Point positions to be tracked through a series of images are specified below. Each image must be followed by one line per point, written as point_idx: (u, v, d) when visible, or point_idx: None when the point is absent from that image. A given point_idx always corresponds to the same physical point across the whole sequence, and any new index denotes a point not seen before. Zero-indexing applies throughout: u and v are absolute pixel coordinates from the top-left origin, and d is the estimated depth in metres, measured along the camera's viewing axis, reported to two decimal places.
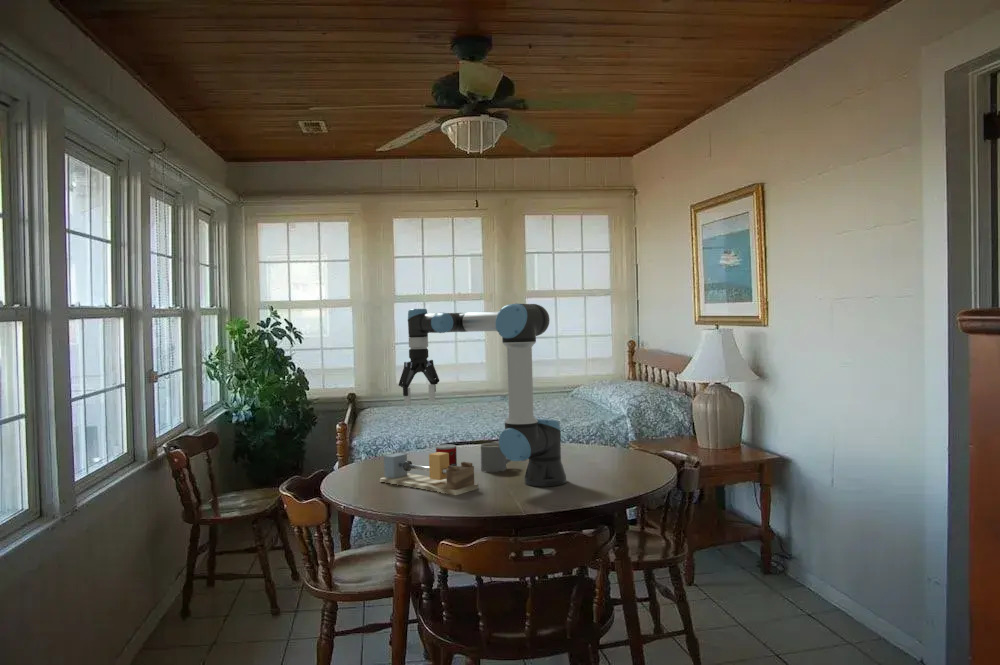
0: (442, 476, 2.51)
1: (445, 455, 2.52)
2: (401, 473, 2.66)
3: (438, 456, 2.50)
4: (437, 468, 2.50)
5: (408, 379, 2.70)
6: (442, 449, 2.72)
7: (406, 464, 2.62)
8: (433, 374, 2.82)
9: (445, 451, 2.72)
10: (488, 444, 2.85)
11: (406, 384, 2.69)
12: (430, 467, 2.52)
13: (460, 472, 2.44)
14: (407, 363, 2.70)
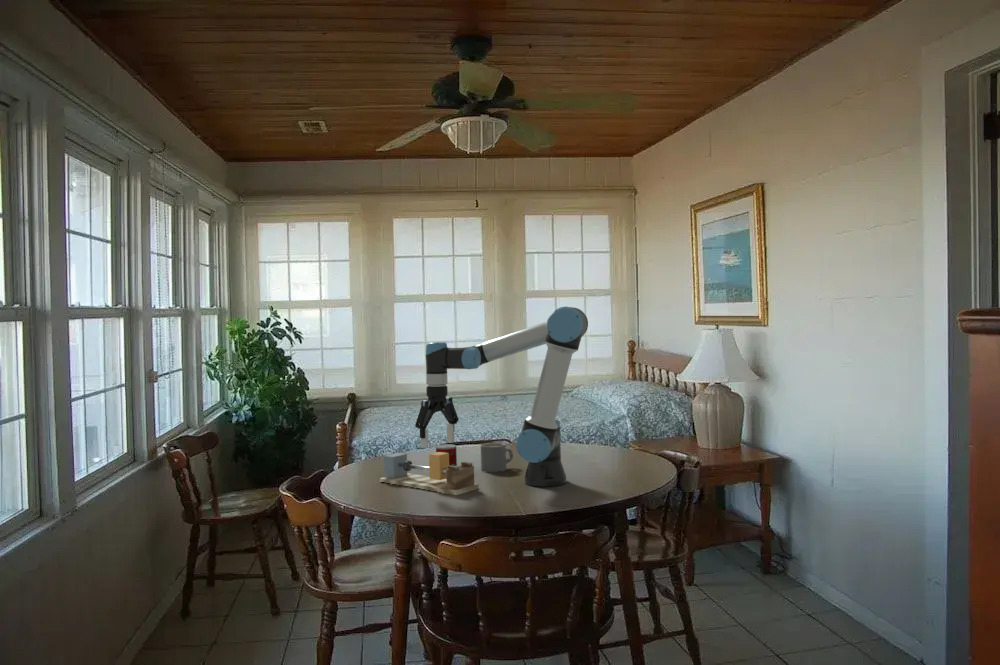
0: (442, 476, 2.51)
1: (445, 455, 2.52)
2: (401, 473, 2.66)
3: (438, 456, 2.50)
4: (437, 468, 2.50)
5: (425, 420, 2.48)
6: (442, 449, 2.72)
7: (406, 464, 2.62)
8: (452, 413, 2.59)
9: (445, 451, 2.72)
10: (488, 444, 2.85)
11: None
12: (430, 467, 2.52)
13: (460, 472, 2.44)
14: (425, 402, 2.47)
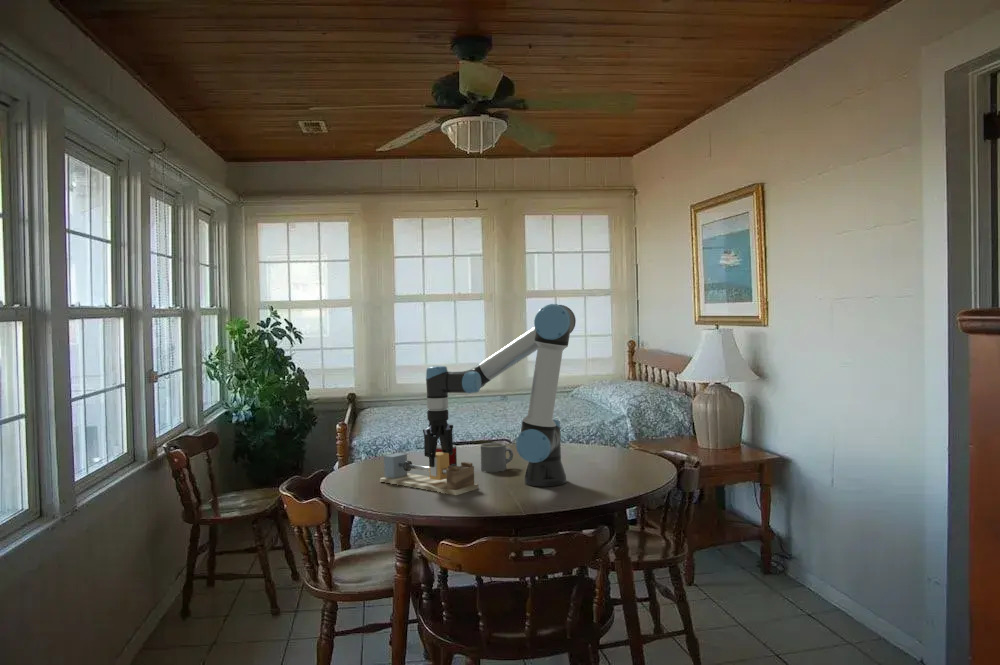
0: (442, 476, 2.51)
1: (445, 455, 2.52)
2: (401, 473, 2.66)
3: (438, 456, 2.50)
4: (437, 468, 2.50)
5: (432, 448, 2.50)
6: None
7: (406, 464, 2.62)
8: (448, 441, 2.57)
9: None
10: (488, 444, 2.85)
11: (432, 455, 2.49)
12: None
13: (460, 472, 2.44)
14: (426, 431, 2.48)
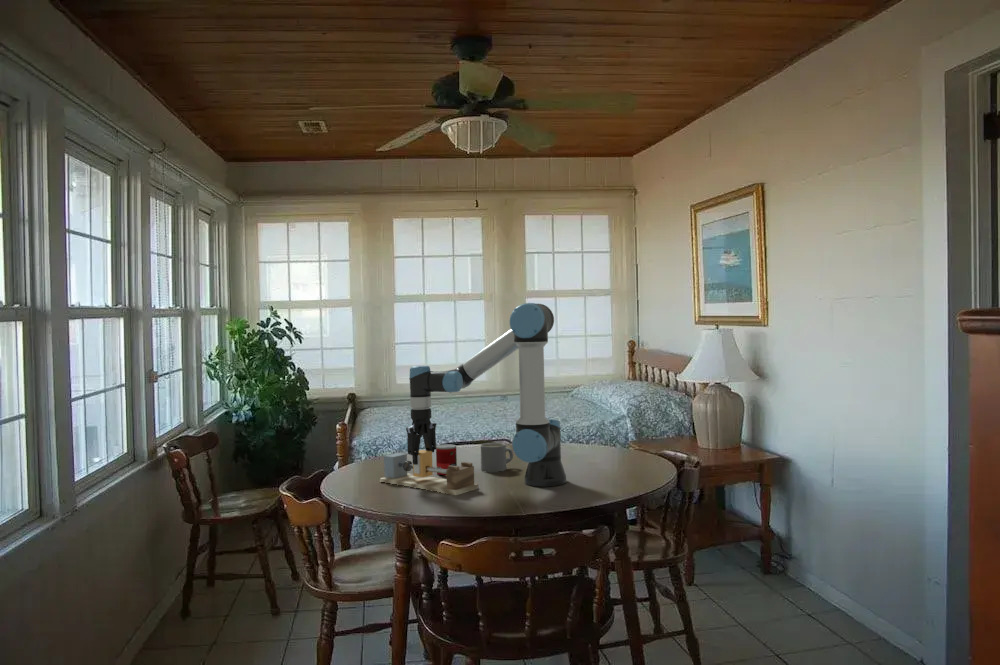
0: (426, 473, 2.56)
1: (428, 453, 2.57)
2: (401, 473, 2.66)
3: (421, 454, 2.55)
4: (420, 466, 2.55)
5: (415, 446, 2.55)
6: (442, 449, 2.72)
7: (406, 464, 2.62)
8: (431, 439, 2.62)
9: (445, 451, 2.72)
10: (488, 444, 2.85)
11: (415, 452, 2.54)
12: (413, 465, 2.58)
13: (460, 472, 2.44)
14: (409, 430, 2.53)
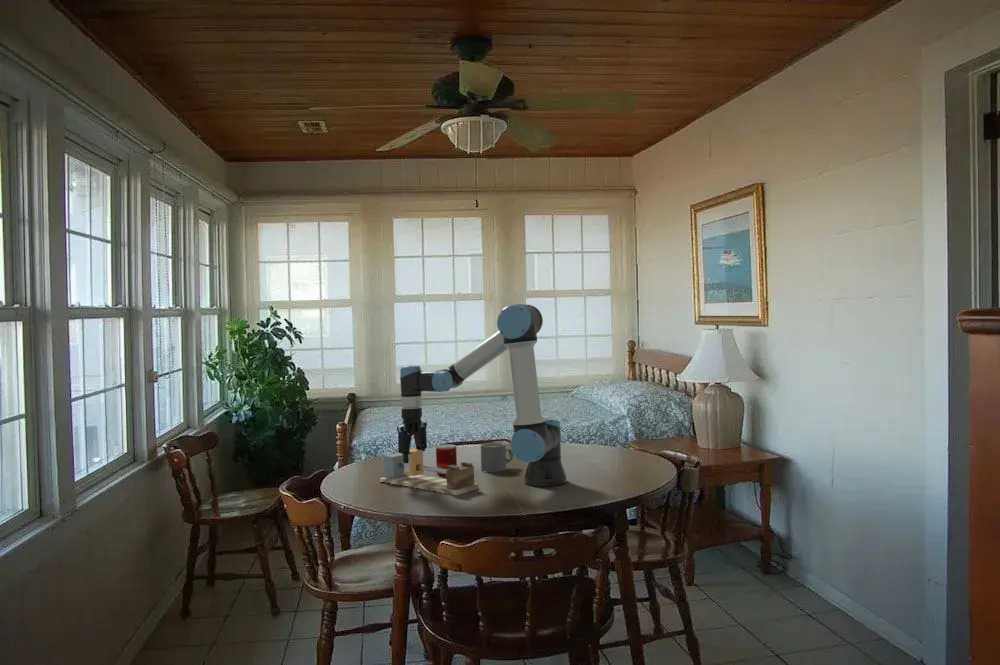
0: (416, 472, 2.59)
1: (419, 452, 2.60)
2: (401, 473, 2.66)
3: (412, 453, 2.58)
4: (411, 464, 2.58)
5: (406, 445, 2.58)
6: (442, 449, 2.72)
7: None
8: (422, 438, 2.65)
9: (445, 451, 2.72)
10: (488, 444, 2.85)
11: (406, 451, 2.57)
12: None
13: (460, 472, 2.44)
14: (400, 429, 2.56)
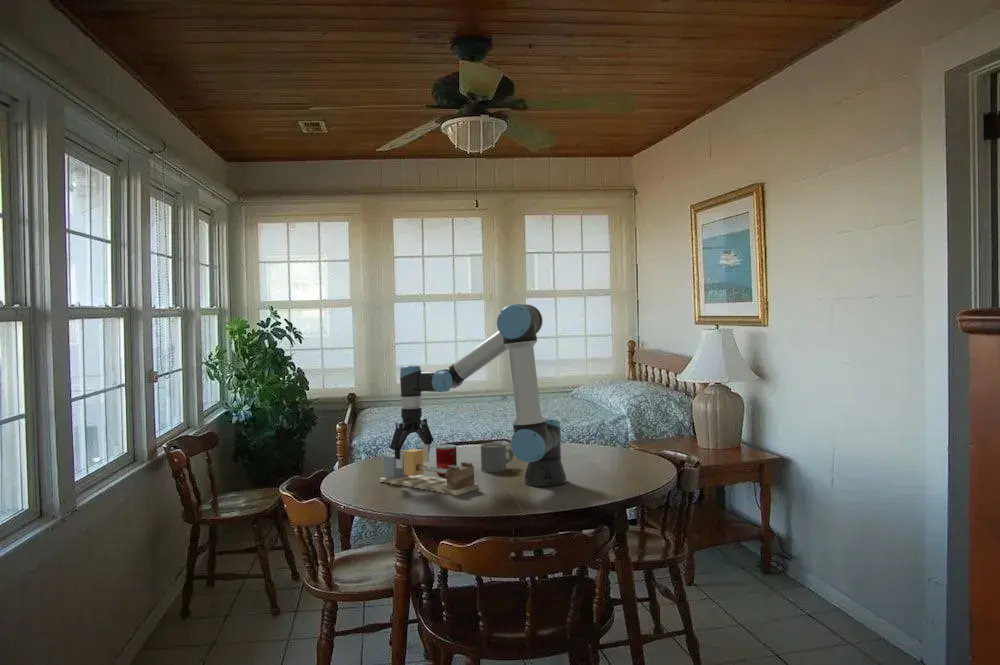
0: (416, 472, 2.59)
1: (419, 452, 2.60)
2: (401, 473, 2.66)
3: (412, 453, 2.58)
4: (411, 464, 2.58)
5: (400, 441, 2.56)
6: (442, 449, 2.72)
7: None
8: (427, 433, 2.67)
9: (445, 451, 2.72)
10: (488, 444, 2.85)
11: (398, 447, 2.54)
12: (404, 463, 2.60)
13: (460, 472, 2.44)
14: (399, 424, 2.55)
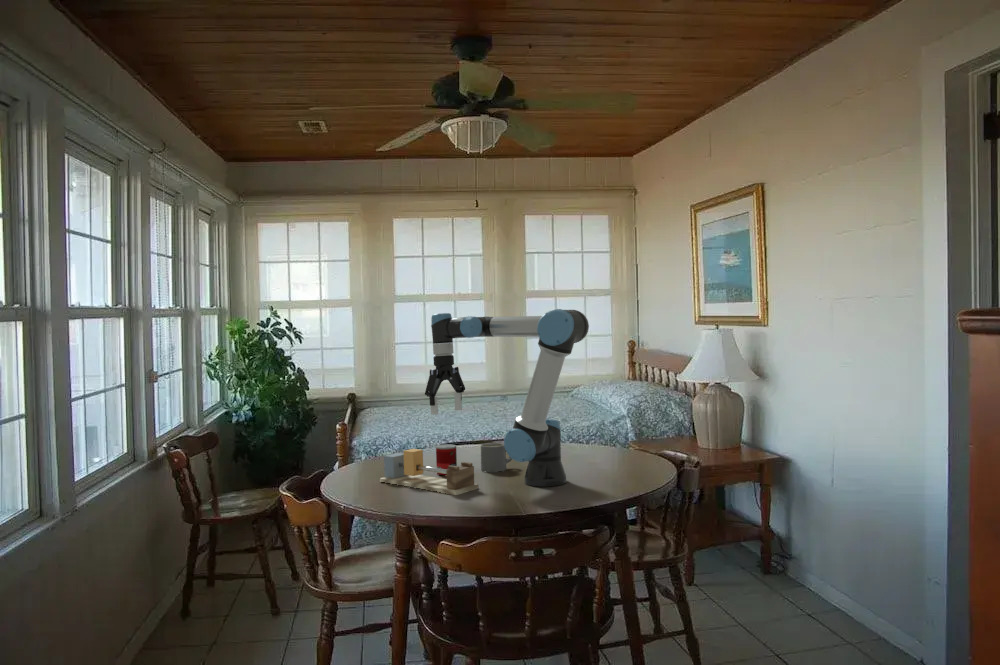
0: (416, 472, 2.59)
1: (419, 452, 2.60)
2: (401, 473, 2.66)
3: (412, 453, 2.58)
4: (411, 464, 2.58)
5: (434, 388, 2.57)
6: (442, 449, 2.72)
7: None
8: (458, 382, 2.68)
9: (445, 451, 2.72)
10: (488, 444, 2.85)
11: (433, 393, 2.55)
12: (404, 463, 2.60)
13: (460, 472, 2.44)
14: (433, 371, 2.56)
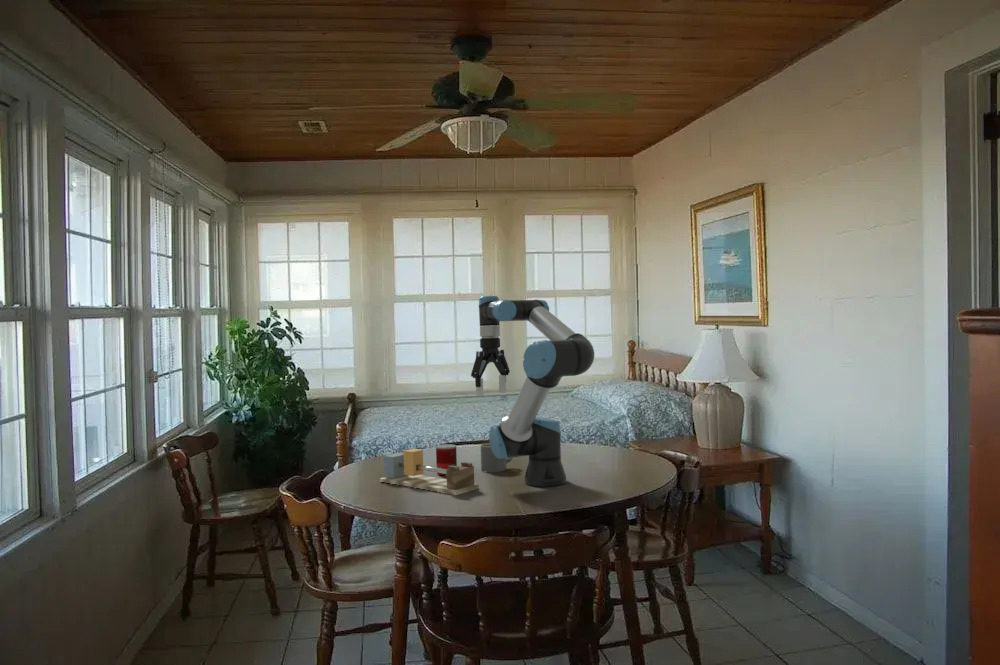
0: (416, 472, 2.59)
1: (419, 452, 2.60)
2: (401, 473, 2.66)
3: (412, 453, 2.58)
4: (411, 464, 2.58)
5: (480, 369, 2.59)
6: (442, 449, 2.72)
7: None
8: (503, 365, 2.70)
9: (445, 451, 2.72)
10: (488, 444, 2.85)
11: (479, 374, 2.58)
12: (404, 463, 2.60)
13: (460, 472, 2.44)
14: (479, 353, 2.59)
